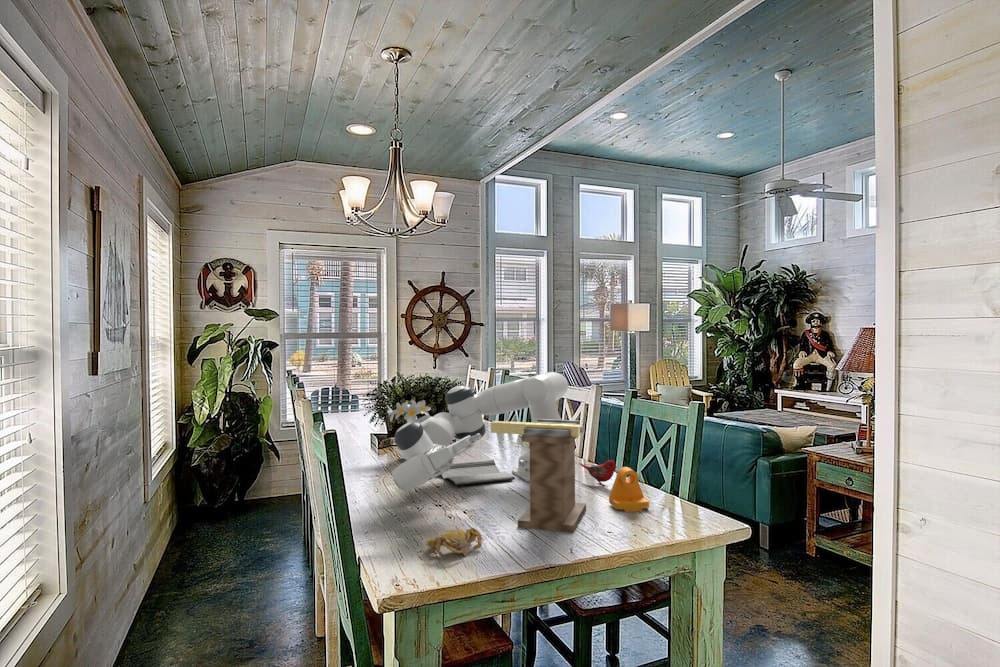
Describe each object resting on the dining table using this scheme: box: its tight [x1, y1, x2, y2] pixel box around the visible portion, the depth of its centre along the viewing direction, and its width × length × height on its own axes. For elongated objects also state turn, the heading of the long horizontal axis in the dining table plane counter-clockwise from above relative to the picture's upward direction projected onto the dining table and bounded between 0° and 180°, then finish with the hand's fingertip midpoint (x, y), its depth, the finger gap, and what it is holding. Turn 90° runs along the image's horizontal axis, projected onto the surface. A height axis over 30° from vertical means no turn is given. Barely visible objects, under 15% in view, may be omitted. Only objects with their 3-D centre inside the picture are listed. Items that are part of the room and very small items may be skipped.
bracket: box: [608, 466, 650, 512], centre depth 192 cm, size 11×7×12 cm, turn 98°
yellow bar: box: [490, 420, 581, 438], centre depth 177 cm, size 26×3×3 cm, turn 72°
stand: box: [517, 419, 587, 534], centre depth 182 cm, size 16×21×28 cm
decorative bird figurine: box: [579, 459, 618, 487], centre depth 218 cm, size 3×18×10 cm, turn 39°
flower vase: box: [386, 399, 432, 461], centre depth 260 cm, size 13×18×25 cm
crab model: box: [425, 527, 482, 557], centre depth 158 cm, size 15×13×6 cm
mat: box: [440, 458, 516, 488], centre depth 230 cm, size 23×24×5 cm
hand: (474, 438), depth 183 cm, fingers open, 8 cm apart
